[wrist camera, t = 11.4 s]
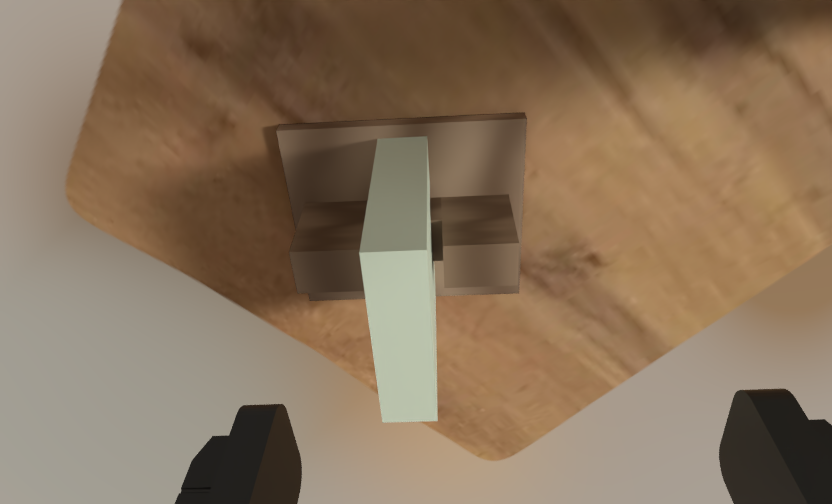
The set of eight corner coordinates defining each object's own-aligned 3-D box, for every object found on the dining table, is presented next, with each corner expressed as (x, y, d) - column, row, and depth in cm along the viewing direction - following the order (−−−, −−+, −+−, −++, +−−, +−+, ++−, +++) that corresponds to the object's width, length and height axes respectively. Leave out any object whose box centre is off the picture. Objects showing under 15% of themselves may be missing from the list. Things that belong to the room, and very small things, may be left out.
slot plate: (524, 112, 40) (541, 160, 34) (517, 285, 48) (529, 348, 42) (279, 124, 41) (254, 174, 35) (312, 292, 49) (296, 355, 43)
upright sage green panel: (427, 136, 40) (426, 249, 29) (435, 284, 47) (437, 420, 36) (377, 138, 40) (359, 252, 29) (392, 286, 47) (382, 422, 36)
